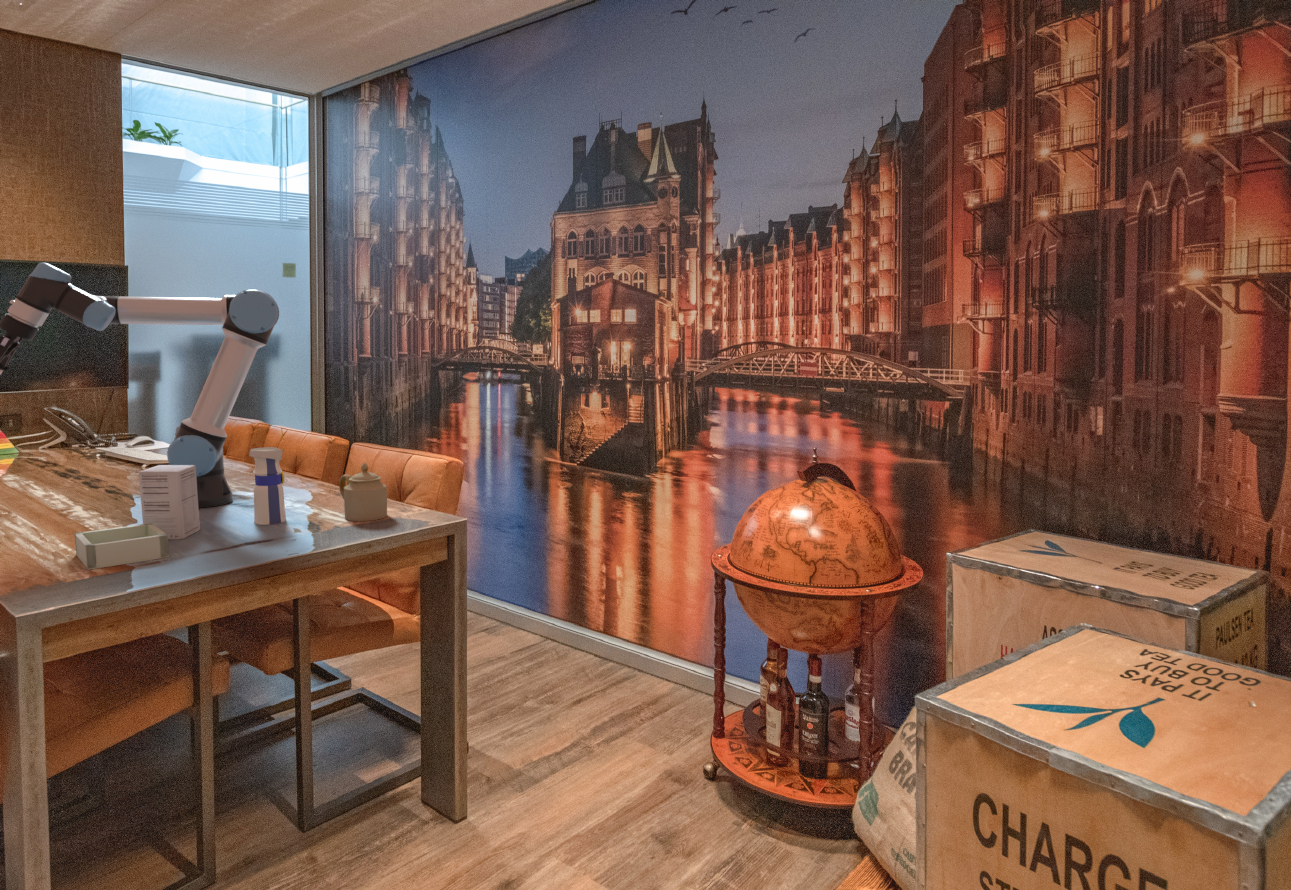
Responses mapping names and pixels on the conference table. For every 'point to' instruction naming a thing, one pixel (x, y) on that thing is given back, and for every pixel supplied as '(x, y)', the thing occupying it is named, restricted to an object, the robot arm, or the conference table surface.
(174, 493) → the supplement box
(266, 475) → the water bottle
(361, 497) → the sugar bowl
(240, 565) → the conference table surface
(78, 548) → the crate
